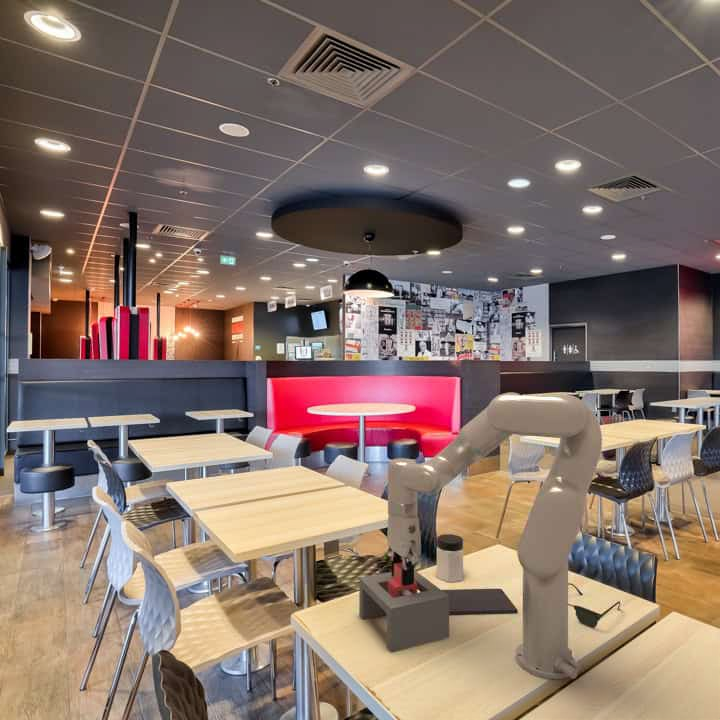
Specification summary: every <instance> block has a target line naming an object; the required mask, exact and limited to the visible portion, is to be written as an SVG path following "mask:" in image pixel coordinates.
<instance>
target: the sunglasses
mask: <svg viewBox="0 0 720 720" xmlns="http://www.w3.org/2000/svg"><path fill="white" fill-rule="evenodd" d="M570 585H571V586H572V587H574V588H575V590H576V591H577V592H578V595H579V596H583V595H584V593H582V591H580V590H579V589H578V587H577V586H576V585H575V584H573V583H569V582H568V586H570ZM620 605H621V601H620V600H619V601H617V602H616V603H614V604H612V606H610V607H609V608H607V610H605V611H604V612H602V613H598V612H596V611H594V610H591V609H588V608H586V607H583V606H581V605H575V604H571V603H568V607H573V609H574V611H575V616H576V618H577V620H578V621H579V623H580V624H581V625H584V626H586V627H588V628H591V629H595V628H596V627H597V625H598V623H599V621H600V620H601V619H602V618H603V617H604V616H605V615H606V614H607V613H609V612H611V610H612V609H614V607H616V606H618V607H617V609H618V610H619V609H620Z"/></svg>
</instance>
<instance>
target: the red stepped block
mask: <svg viewBox="0 0 720 720" xmlns="http://www.w3.org/2000/svg"><path fill="white" fill-rule="evenodd" d="M402 569H404V568H403V562H400V563H395V564H394V579H390V580H388V588H387V593H389V594H390V595H391V596H392V597H393V598H395V597H399V591H403V590H408V591H410V592H411V593H412V594H414V593H418V589H417V582H416V581H415V580H414V584H411V585H406V586H403V585H402Z"/></svg>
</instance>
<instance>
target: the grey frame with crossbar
mask: <svg viewBox="0 0 720 720" xmlns="http://www.w3.org/2000/svg"><path fill="white" fill-rule="evenodd" d="M390 579H394V577H393V576H392V571H390V572H389V571H388V572H385V573H379V574H374V575H368V576H363V577H359V587H358V589H359V594H358V595H359V599H358V600H359V601H358V602H359V606H358V607H359V613H358V615H359V617H360V619H361V620H368V619H371V618H376V617H380V616H384V615H386V649H387V650H388V651H389V652H390V653H396V652H398V651H403V650H405V649H409V648H412V647H413V648H414V647H416V646H417V647H418V646H421V645H426V644H429V643H432V642H436V641H440V640H445V639H448V638H450V615H449V596H448V595H447V594H446V593H444V592H443V591H442V590H443V589H441V588H439V587H437V585H435V584H434V583H432V581H430V580H428V579H427V578H426V577H424V576H423V575H422V574H421V573H419V572H418V571H417V570H415V569H414V580H415V581H416V582H417V591H419V592H417V593H414V594H412V593H411V592H410V591H408V590H403V591H399V597H395V598H393V597H392V596H391V595H390V594H389V593H387V588H388V580H390Z"/></svg>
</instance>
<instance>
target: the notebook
mask: <svg viewBox="0 0 720 720" xmlns="http://www.w3.org/2000/svg"><path fill="white" fill-rule="evenodd" d="M441 590H442V591H443V592H444V593H446V594H447V595H448V596H449V616H477V615H513V614H514V615H515V614H518V615H519V613H518V610H519V609H518V608H517V607H516V606H515V604H514V603H513V602H512V600H510V598H509V597H508V595H507V594H506V593H505V591H504V590H503V589H502V588H469V589H468V588H467V589H466V588H465V589H464V588H462V589H457V588H456V589H441Z"/></svg>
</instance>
